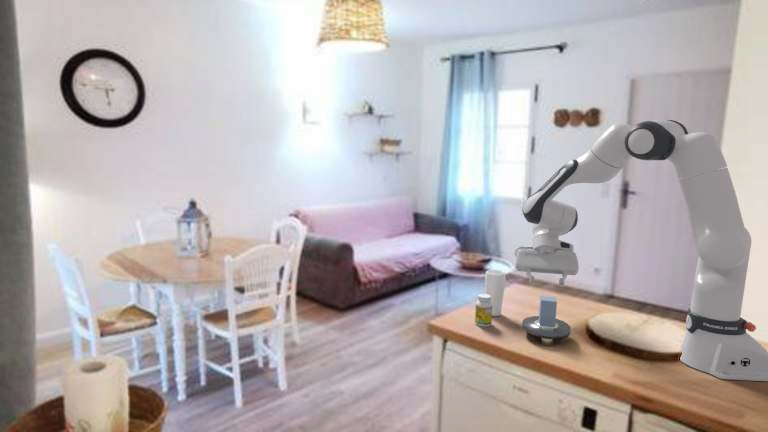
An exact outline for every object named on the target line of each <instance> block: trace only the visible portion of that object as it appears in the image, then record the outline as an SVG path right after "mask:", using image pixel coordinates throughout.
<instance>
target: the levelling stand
mask: <svg viewBox="0 0 768 432" xmlns="http://www.w3.org/2000/svg"><path fill="white" fill-rule="evenodd" d="M521 325H522V326H521V327H522V329H523V331H524V332H525V333H526V334H527V335H531V336H534V337H539V338H541V339H540V343H541V344H542V345H543V346H547V347H549V346H553V342H554V341H553V340H557V339H558V340H559V339H566V338H567V337H569V336H570V335H571V329H572V328H571V327H572V326H571V325H569V323H567V322H565V321H563V320H561V319H558V318H556V320H555V327H548V326H539V315H537V316H536V315H535V316H527V317H525V318H523V319H522V323H521Z"/></svg>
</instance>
